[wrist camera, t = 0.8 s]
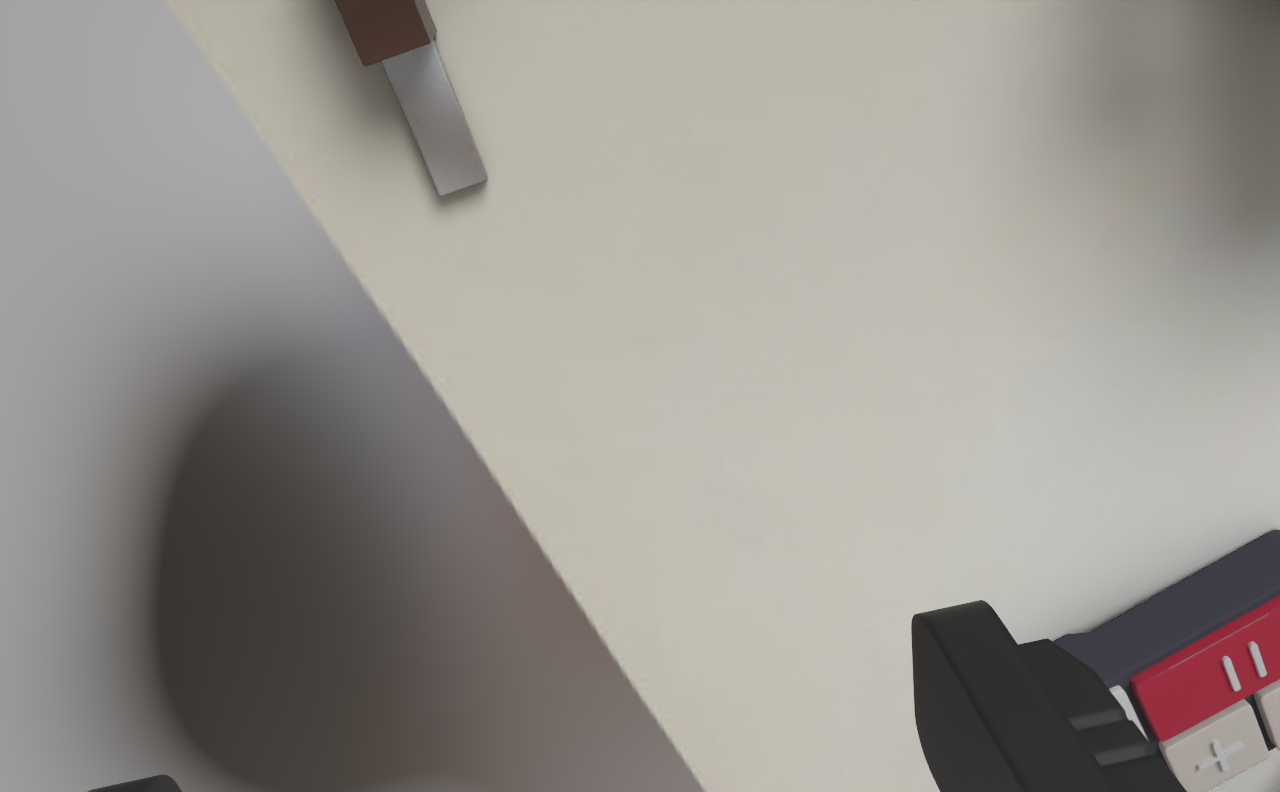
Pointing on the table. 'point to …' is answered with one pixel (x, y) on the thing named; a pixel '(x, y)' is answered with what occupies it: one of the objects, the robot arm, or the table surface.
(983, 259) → the table surface
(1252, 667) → the calculator
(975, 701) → the robot arm
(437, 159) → the knife
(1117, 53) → the table surface
